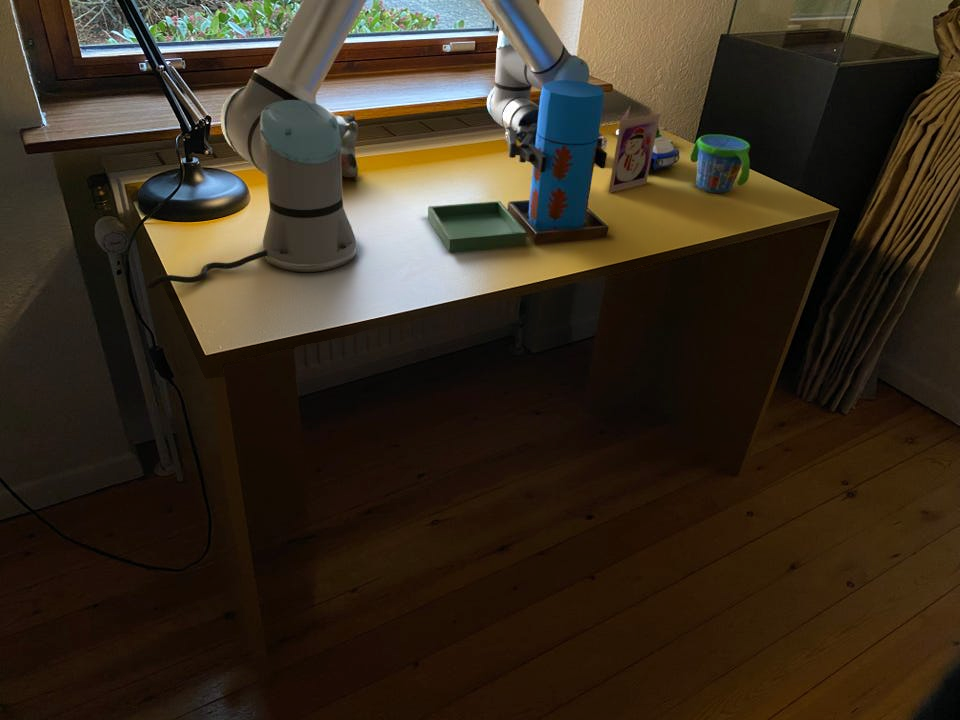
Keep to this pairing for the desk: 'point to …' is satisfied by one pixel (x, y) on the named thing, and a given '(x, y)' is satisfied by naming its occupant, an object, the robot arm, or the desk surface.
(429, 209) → the sage tray
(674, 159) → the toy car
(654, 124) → the greeting card
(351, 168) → the lucky cat figurine
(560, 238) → the walnut frame
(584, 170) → the thermos
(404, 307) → the desk surface
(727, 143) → the snack cup
